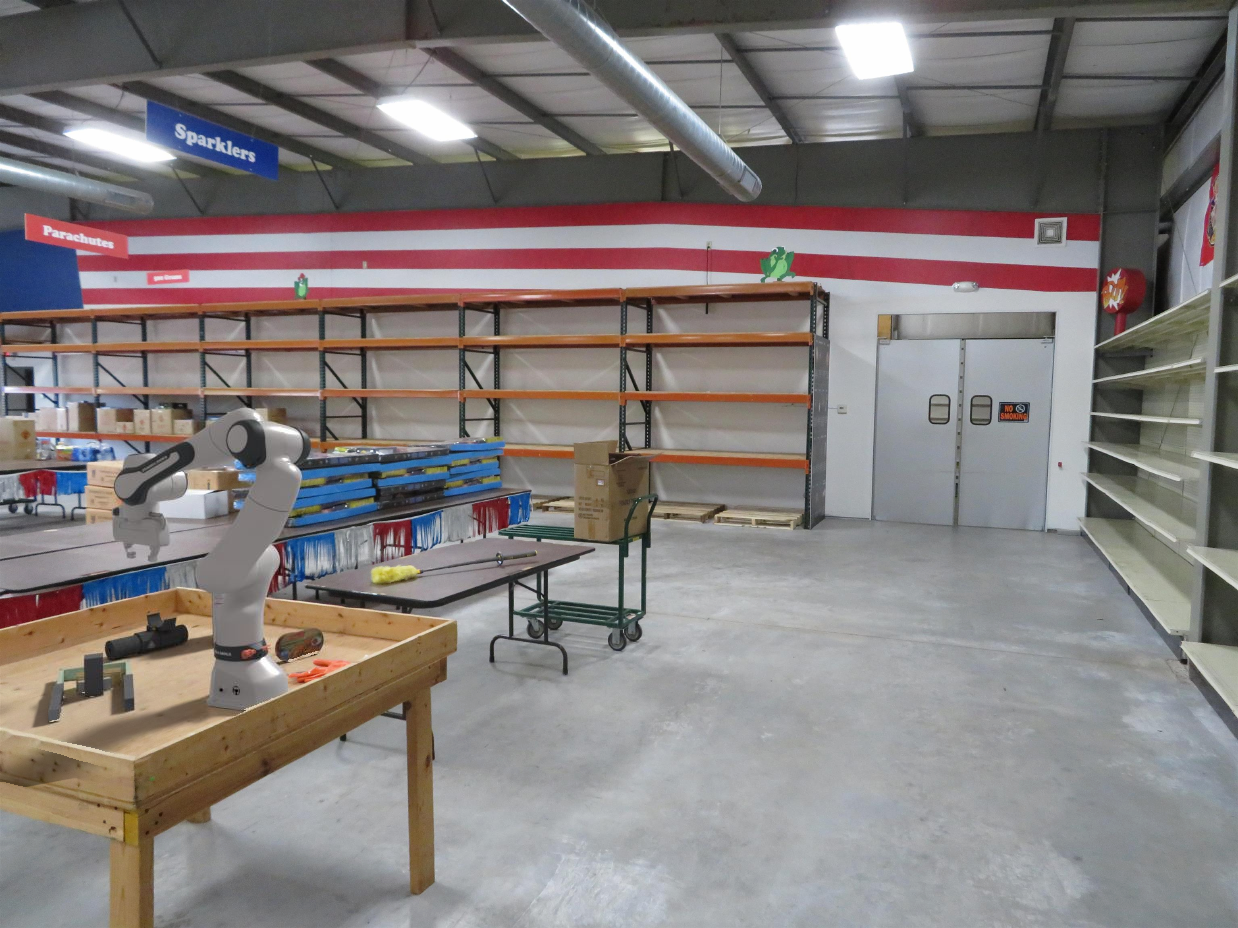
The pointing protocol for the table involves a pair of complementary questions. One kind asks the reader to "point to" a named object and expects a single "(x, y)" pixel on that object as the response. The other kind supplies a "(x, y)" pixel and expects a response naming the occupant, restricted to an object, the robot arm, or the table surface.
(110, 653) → the laser sight
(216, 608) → the cracker box
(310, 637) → the tin
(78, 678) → the wooden block
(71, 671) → the open frame
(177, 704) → the table surface
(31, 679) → the table surface
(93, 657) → the dark grey block
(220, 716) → the table surface
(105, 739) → the table surface
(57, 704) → the slot jig
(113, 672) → the brown wooden cube
